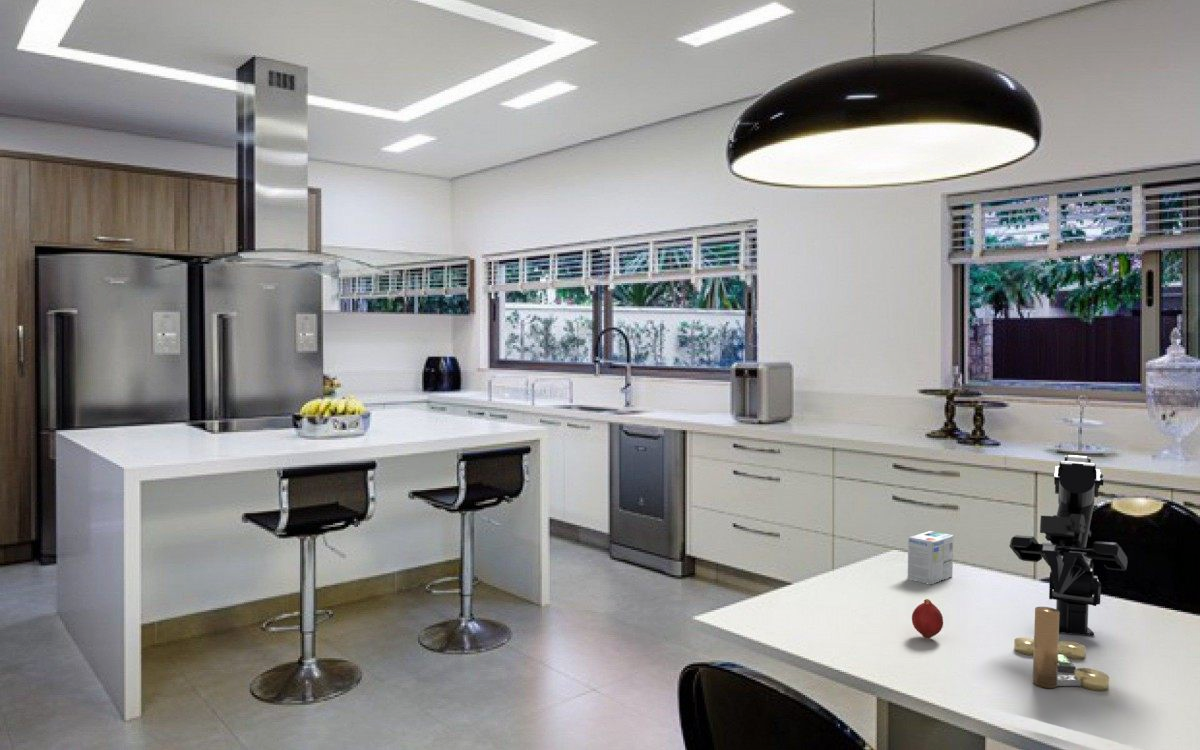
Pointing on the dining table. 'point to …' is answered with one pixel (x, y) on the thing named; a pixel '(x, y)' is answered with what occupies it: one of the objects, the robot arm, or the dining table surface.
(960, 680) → the dining table surface
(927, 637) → the onion
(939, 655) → the dining table surface
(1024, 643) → the tribrach plate
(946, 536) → the light bulb box
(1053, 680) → the knob lever
